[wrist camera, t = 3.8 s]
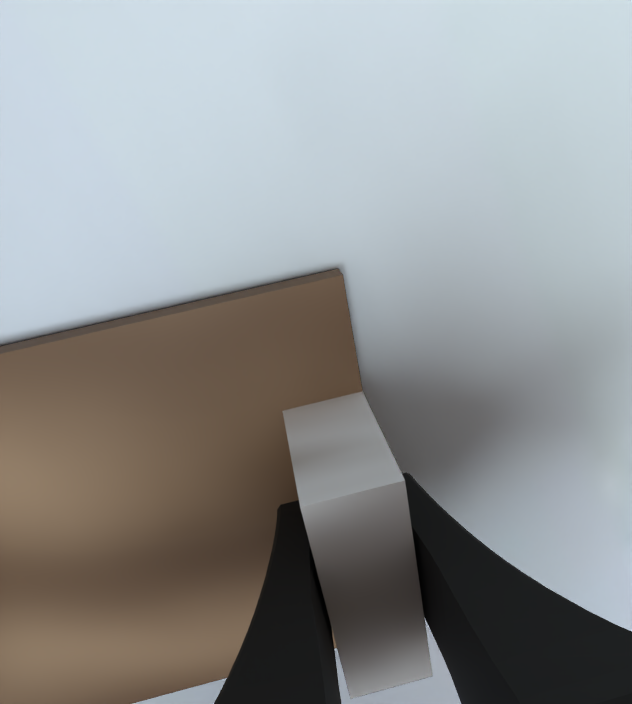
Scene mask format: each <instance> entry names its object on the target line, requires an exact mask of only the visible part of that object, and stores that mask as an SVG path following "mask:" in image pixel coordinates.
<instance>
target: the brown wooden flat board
mask: <svg viewBox="0 0 632 704" xmlns="http://www.w3.org/2000/svg"><path fill="white" fill-rule="evenodd" d="M297 500H299V504H300V509H301V512H302V516H303V520H304V524H305V528H306V531H307V535H308V539H309V543H310V547H311V550H312V554H313V558H314V562H315V566H316V569H317V573H318V577H319V581H320V585H321V588H322V592H323V596H324V600H325V604H326V607H327V611H328V615H329V619H330V623H331V626H332V634H333V642H334V649H335V648H337V649H338V653H339V657H340V661H341V665H342V668H343V672H344V676H345V680H346V684H347V687H348V691H349V695H350V699H353V698H356V697H360V696H363V695H367V694H370V693H374V692H378V691H381V690H385V689H388V688H392V687H396V686H399V685H403V684H406V683H410V682H414V681H417V680H421V679H424V678H428V677H432V668H431V661H430V654H429V647H428V640H427V633H426V626H425V619H424V612H423V605H422V597H421V590H420V583H419V576H418V569H417V562H416V555H415V548H414V541H413V534H412V526H411V519H410V512H409V505H408V498H407V491H406V484H405V479H404V477H403V475H402V473H401V471H400V469H399V467H398V465H397V462H396V460H395V458H394V456H393V454H392V452H391V450H390V448H389V446H388V444H387V441H386V439H385V437H384V435H383V433H382V431H381V429H380V427H379V425H378V423H377V420H376V418H375V416H374V414H373V412H372V410H371V408H370V406H369V404H368V402H367V400H366V397H365V395H364V393H363V391H362V385H361V379H360V373H359V367H358V361H357V356H356V350H355V344H354V338H353V332H352V326H351V320H350V315H349V309H348V303H347V297H346V291H345V285H344V279H343V275H342V273H341V272H340V270H339V269H335V270H331V271H326V272H322V273H317V274H313V275H309V276H304V277H300V278H296V279H291V280H287V281H283V282H278V283H274V284H270V285H265V286H261V287H256V288H252V289H248V290H243V291H239V292H235V293H230V294H226V295H222V296H217V297H213V298H209V299H204V300H200V301H195V302H191V303H187V304H182V305H178V306H174V307H169V308H165V309H161V310H156V311H152V312H148V313H143V314H139V315H134V316H130V317H126V318H121V319H117V320H113V321H108V322H104V323H100V324H95V325H91V326H87V327H82V328H78V329H73V330H69V331H65V332H60V333H56V334H52V335H47V336H43V337H39V338H34V339H30V340H26V341H21V342H17V343H12V344H8V345H4V346H0V704H132V703H136V702H139V701H143V700H147V699H151V698H154V697H158V696H162V695H165V694H169V693H173V692H176V691H180V690H184V689H187V688H191V687H195V686H198V685H202V684H206V683H209V682H213V681H217V680H220V679H224V678H227V677H228V675H229V673H230V671H231V668H232V666H233V664H234V662H235V660H236V657H237V655H238V653H239V651H240V648H241V646H242V643H243V641H244V638H245V636H246V633H247V631H248V628H249V626H250V623H251V620H252V617H253V615H254V612H255V609H256V606H257V602H258V599H259V596H260V593H261V589H262V586H263V583H264V580H265V576H266V572H267V568H268V564H269V560H270V556H271V551H272V546H273V541H274V536H275V530H276V522H277V509H278V508H279V506H280V505H281V504H285V503H289V502H293V501H297Z"/></svg>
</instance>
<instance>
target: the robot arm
mask: <svg viewBox="0 0 632 704" xmlns="http://www.w3.org/2000/svg"><path fill="white" fill-rule="evenodd" d="M402 475H403V477H404V479H405V484H406V491H407V498H408V505H409V512H410V519H411V526H412V534H413V541H414V548H415V555H416V562H417V569H418V576H419V583H420V590H421V597H422V605H423V612H424V617H425V619H426V621H427V623H428V625H429V627H430V630H431V632H432V634H433V636H434V638H435V640H436V642H437V645H438V647H439V649H440V651H441V653H442V655H443V658H444V660H445V662H446V665H447V667H448V669H449V672H450V674H451V677H452V679H453V682H454V685H455V687H456V690H457V693H458V696H459V698H460V701H461V704H632V632H631V631H629V630H627V629H624V628H622V627H620V626H618V625H615V624H613V623H611V622H609V621H607V620H605V619H603V618H601V617H599V616H597V615H595V614H593V613H591V612H589V611H587V610H585V609H584V608H582V607H580V606H578V605H577V604H575V603H573V602H571V601H569V600H568V599H566V598H564V597H562V596H560V595H559V594H557V593H555V592H553V591H551V590H550V589H548V588H546V587H545V586H543V585H542V584H540V583H538V582H537V581H535V580H534V579H532V578H531V577H529V576H527V575H526V574H524V573H523V572H521V571H520V570H518V569H517V568H516V567H514V566H513V565H511V564H510V563H508V562H507V561H505V560H504V559H503V558H501V557H500V556H499V555H497V554H496V553H495V552H493V551H492V550H491V549H489V548H488V547H487V546H486V545H484V544H483V543H482V542H480V541H479V540H478V539H477V538H475V537H474V536H473V535H472V534H471V533H469V532H468V531H467V530H466V529H465V528H464V527H463V526H461V525H460V524H459V523H458V522H457V521H456V520H455V519H454V518H452V517H451V516H450V515H449V514H448V513H447V512H446V511H445V510H444V509H443V508H442V507H440V506H439V505H438V504H437V503H436V502H435V501H434V500H433V499H432V498H431V497H430V496H429V495H428V494H427V493H426V492H425V490H424V489H423V488H422V487H421V486H420V485H419V484H418V483H417V482H416V481H415V479H414V478H413V477H412V476H411V475H410V474H408V473H403V474H402ZM214 704H341V699H340V692H339V685H338V677H337V668H336V659H335V651H334V642H333V634H332V626H331V623H330V619H329V615H328V611H327V607H326V604H325V600H324V596H323V592H322V588H321V585H320V581H319V577H318V573H317V569H316V566H315V562H314V558H313V554H312V550H311V547H310V543H309V539H308V535H307V531H306V528H305V524H304V520H303V516H302V512H301V509H300V504H299V500H297V501H293V502H289V503H285V504H281V505H280V506H279V508H278V509H277V522H276V530H275V536H274V541H273V546H272V551H271V556H270V560H269V564H268V568H267V572H266V576H265V580H264V583H263V586H262V589H261V593H260V596H259V599H258V602H257V606H256V609H255V612H254V615H253V617H252V620H251V623H250V626H249V628H248V631H247V633H246V636H245V638H244V641H243V643H242V646H241V648H240V651H239V653H238V655H237V657H236V660H235V662H234V664H233V666H232V668H231V671H230V673H229V675H228V677H227V679H226V681H225V683H224V685H223V688H222V689H221V691H220V693H219V695H218V697H217V699H216V701H215V703H214Z"/></svg>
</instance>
